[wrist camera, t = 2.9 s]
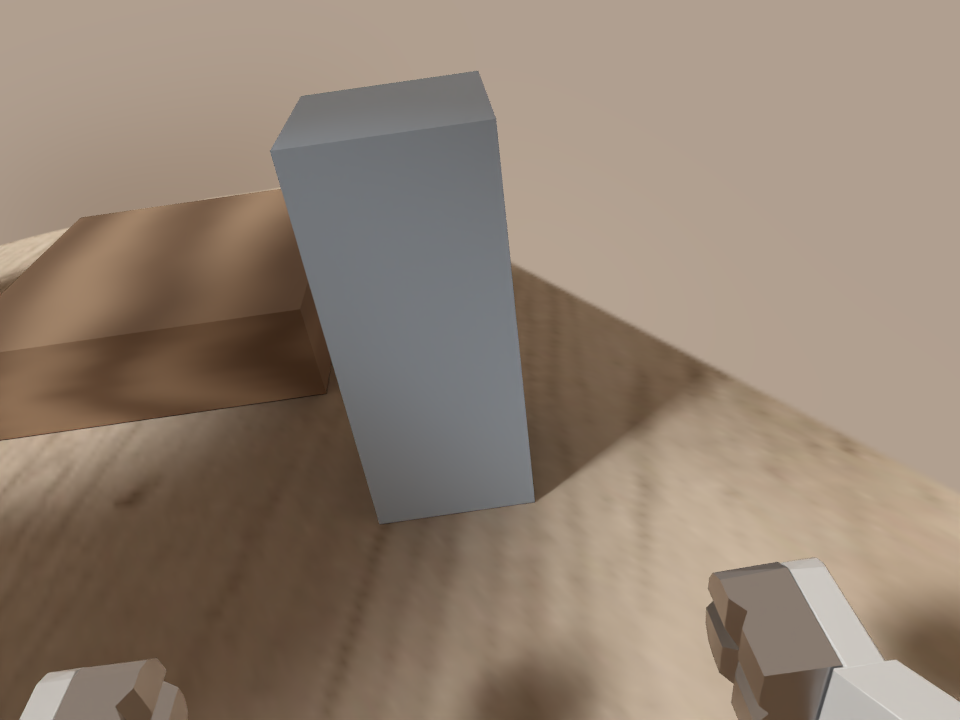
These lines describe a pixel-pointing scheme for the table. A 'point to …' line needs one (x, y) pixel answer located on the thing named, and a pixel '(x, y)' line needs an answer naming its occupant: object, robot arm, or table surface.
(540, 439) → the table surface
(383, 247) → the slate block
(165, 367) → the block
